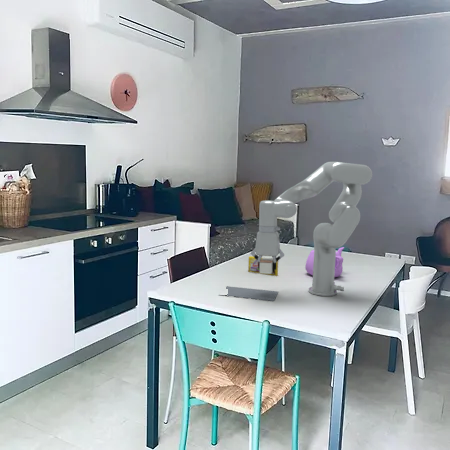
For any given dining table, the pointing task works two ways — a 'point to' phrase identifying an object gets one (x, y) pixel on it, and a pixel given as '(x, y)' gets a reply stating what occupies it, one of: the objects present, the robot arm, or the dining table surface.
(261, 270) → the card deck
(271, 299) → the mat
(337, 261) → the teapot
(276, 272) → the candy box
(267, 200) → the robot arm
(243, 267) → the dining table surface
